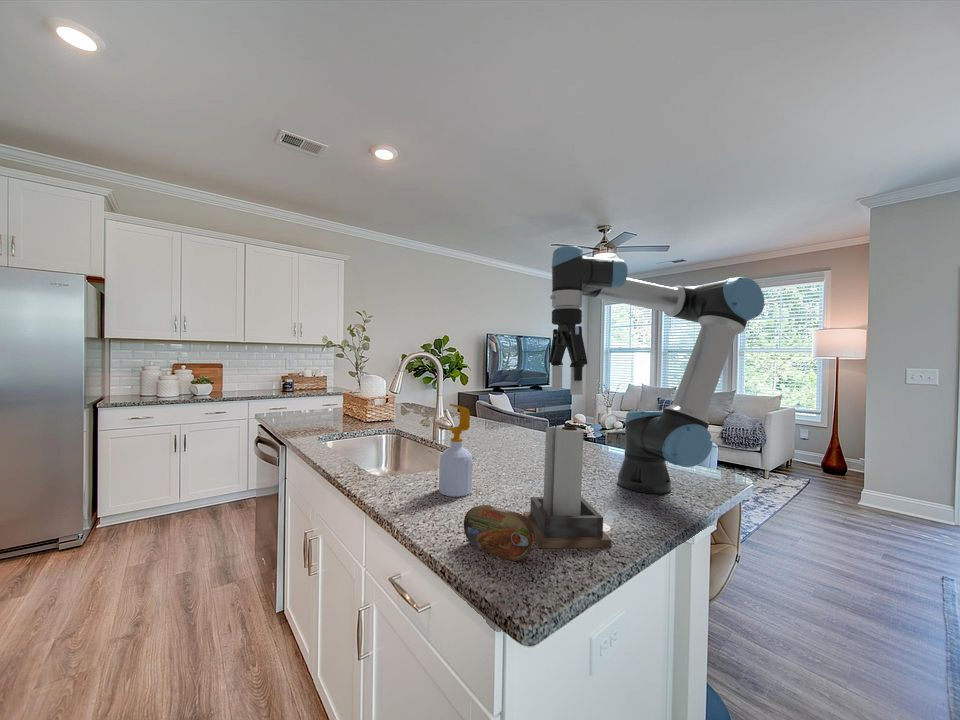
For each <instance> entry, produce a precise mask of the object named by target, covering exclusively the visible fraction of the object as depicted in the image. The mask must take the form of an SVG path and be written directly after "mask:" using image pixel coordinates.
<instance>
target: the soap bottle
mask: <svg viewBox="0 0 960 720" xmlns="http://www.w3.org/2000/svg"><path fill="white" fill-rule="evenodd" d="M449 406H450V407H453V408H457V409H458V411H459V424H458V426H454V427H453V426H452V427H447V429H446V430H448V431H451V433H452V434H453V437H451V438H450V446H449V447H447V448H446V449H445V450H443V451H442V452H441V454H440V456H439V471H438V475H439V477H438V492H439V493H440V494H441V495H443V496H445V495H446V497H451V498H459V497H460V496H461V497H465V496H468V495H470V494H471V493H472V490H473V489H472V487H473V486H472V484H473V481H472V480H473V455H472V453H471V452H470V451H469V450H468V449H466V448H464V447H463V438H462V437H461V434H462V432H465V431H468V430H469V429H470V425H471V423H470V420H471V419H470V417H471V412H470V409H469V408H467V407H465V406H462V405H458V404H453V403H449Z"/></svg>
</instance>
